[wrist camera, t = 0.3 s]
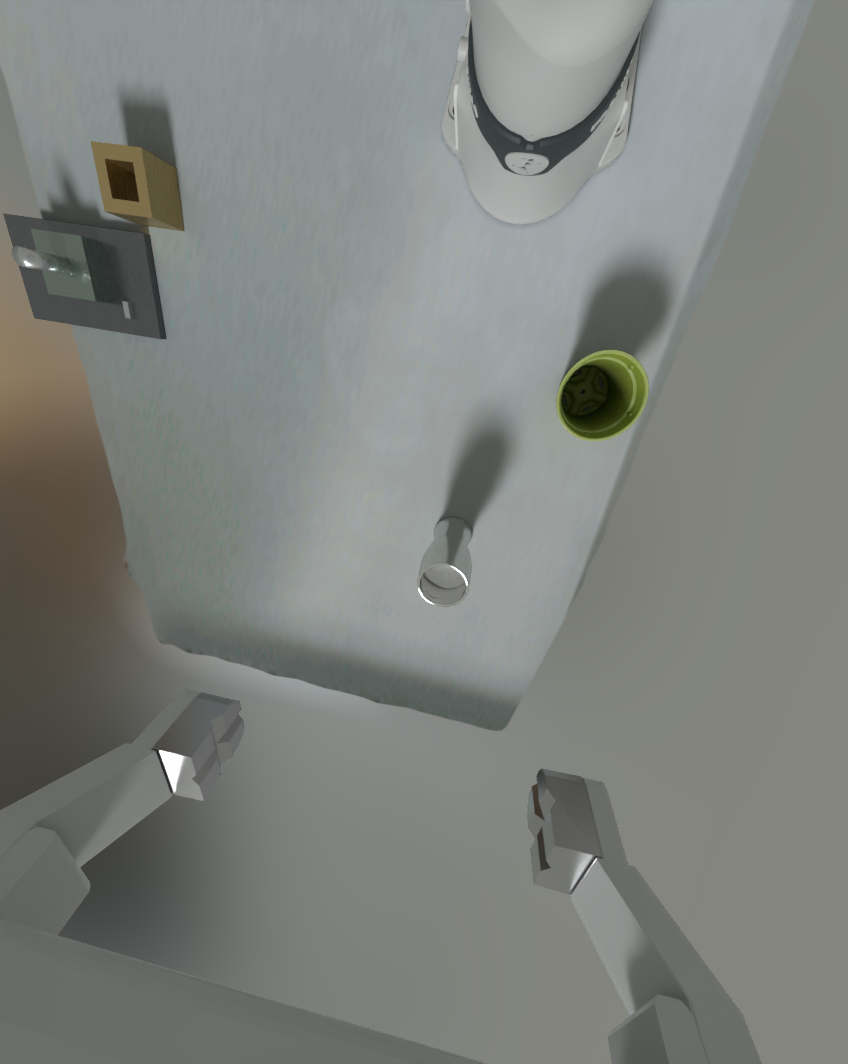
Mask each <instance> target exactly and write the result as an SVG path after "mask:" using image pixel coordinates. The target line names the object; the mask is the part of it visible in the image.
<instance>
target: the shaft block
mask: <svg viewBox="0 0 848 1064" xmlns="http://www.w3.org/2000/svg"><path fill="white" fill-rule="evenodd" d="M4 217H5V221H6V224H7V228H8V231H9V235H10V238H11V241H12V245H13V248H12V256H13V258H14V260H15V261H16V262H17V264H18V265H19V268H20V271H21V274H22V278H23V281H24V285H25V288H26V291H27V295H28V298H29V302H30V305H31V308H32V312H33V315H34V318H37V319H43V320H49V321H55V322H61V323H67V324H73V325H79V326H85V327H91V328H97V329H103V330H109V331H115V332H121V333H127V334H134V335H140V336H146V337H152V338H158V339H166V335H165V329H164V322H163V316H162V310H161V304H160V298H159V291H158V285H157V279H156V273H155V266H154V260H153V254H152V248H151V241H150V236H149V235H146V234H143V233H136V232H129V231H122V230H115V229H108V228H101V227H94V226H87V225H80V224H73V223H66V222H59V221H51V220H44V219H37V218H30V217H23V216H16V215H9V214H4Z"/></svg>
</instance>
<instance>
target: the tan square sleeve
mask: <svg viewBox="0 0 848 1064" xmlns="http://www.w3.org/2000/svg"><path fill="white" fill-rule="evenodd" d="M91 145H92V150H93V155H94V160H95V165H96V170H97V175H98V180H99V185H100V190H101V195H102V200H103V205H104V210H105V212H108V213H110V214H113V215H116V216H118V217H121V218H123V219H126V220H129V221H131V222H134V223H137V224H139V225H144V226H151V227H158V228H165V229H172V230H179V231H184V226H183V218H182V210H181V202H180V194H179V186H178V178H177V170H176V168H174V167H173V166H171V165H169V164H168V163H166V162H164V161H163V160H161V159H160V158H158V157H156V156H155V155H153V154H151V153H150V152H148V151H146V150H145V149H143V148H141V147H133V146H125V145H117V144H109V143H101V142H92V141H91Z"/></svg>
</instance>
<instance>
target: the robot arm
mask: <svg viewBox="0 0 848 1064" xmlns="http://www.w3.org/2000/svg"><path fill="white" fill-rule="evenodd" d="M653 1H654V0H466V13H467V14H468V15H469V18H468V22H467V26H466V30H465V34H464V36H462V37H461V39H460V43H459V48H458V56H457V60H458V61H457V64H456V68H455V72H454V76H453V80H452V84H451V88H450V91H449V95H448V99H447V103H446V107H445V111H444V115H443V119H442V136H443V139H444V141H445V143H446V144H447V146H448V147H449V148H450V150H451V151H452V152H453V153H454V154H455V155H456V156H457V157H458V159H459V160H460V162H461V165H462V167H463V170H464V173H465V176H466V179H467V182H468V185H469V187H470V189H471V191H472V193H473V195H474V197H475V198H476V200H477V201H478V202H479V204H480V205H481V206H482V207H483V208H484V209H485V210H486V211H487V212H488V213H490V214H491V215H492V216H494V217H496V218H497V219H499V220H502V221H504V222H508V223H513V224H529V223H534V222H538V221H540V220H543V219H545V218H548V217H549V216H551V215H553V214H555V213H556V212H558V211H559V210H560V209H562V208H563V207H564V206H565V205H566V204H568V203H569V202H570V201H571V200H572V199H573V197H574V196H575V195H576V194H577V193H578V192H579V190H580V189H581V188H582V187H583V186H584V184H585V183H586V182H587V181H588V180H589V179H590V178H591V177H592V176H593V175H594V174H596V173H597V172H599V171H601V170H602V169H604V168H606V167H607V166H609V165H610V164H612V163H613V162H614V161H615V160H616V159H618V157H619V156H620V155H621V153H622V151H623V149H624V147H625V144H626V140H627V133H628V126H629V118H630V111H631V104H632V96H633V89H634V81H635V74H636V67H637V59H638V52H639V44H640V37H641V30H642V25H643V23H644V21H645V19H646V17H647V14H648V12H649V10H650V8H651V6H652V4H653ZM453 112H454V114H453ZM617 130H618V132H617ZM240 711H241V705H240V701H237V700H233V699H229V698H224V697H219V696H215V695H210V694H207V693H204V692H199V691H195V690H189V689H184V690H183V691H181V692H179V693H178V694H177V695H176V696H175V697H174V698H173V699H172V701H170V703H169V704H168V705H167V706H166V707H165V708H164V709H163V710H162V711H161V712H160V713H159V715H158V716H157V717H156V718H155V719H154V720H153V721H152V722H151V723H150V724H149V725H148V727H147V728H146V729H145V730H144V731H143V732H142V733H141V734H140V735H139V736H138V738H137V739H136V740H135V741H134V742H133V743H132V744H124V745H122V746H120V747H118V748H116V749H114V750H113V751H111V752H109V753H107V754H105V755H103V756H101V757H100V758H98V759H96V760H94V761H92V762H90V763H88V764H86V765H85V766H83V767H81V768H79V769H77V770H75V771H73V772H71V773H70V774H68V775H66V776H64V777H62V778H60V779H58V780H57V781H55V782H53V783H51V784H49V785H47V786H45V787H43V788H42V789H40V790H38V791H36V792H34V793H32V794H30V795H29V796H27V797H25V798H23V799H21V800H19V801H17V802H16V803H14V804H12V805H10V806H8V807H6V808H4V809H3V810H1V811H0V1064H487V1063H484V1062H480V1061H477V1060H473V1059H470V1058H467V1057H464V1056H460V1055H457V1054H453V1053H450V1052H447V1051H443V1050H440V1049H437V1048H433V1047H430V1046H426V1045H423V1044H420V1043H416V1042H413V1041H410V1040H406V1039H403V1038H399V1037H396V1036H393V1035H390V1034H386V1033H383V1032H380V1031H376V1030H373V1029H370V1028H366V1027H363V1026H359V1025H356V1024H353V1023H349V1022H345V1021H343V1020H339V1019H336V1018H332V1017H329V1016H326V1015H322V1014H319V1013H316V1012H312V1011H309V1010H306V1009H302V1008H299V1007H296V1006H292V1005H289V1004H286V1003H282V1002H279V1001H276V1000H272V999H268V998H265V997H262V996H258V995H255V994H252V993H249V992H245V991H242V990H239V989H235V988H232V987H229V986H225V985H222V984H218V983H215V982H212V981H208V980H205V979H202V978H198V977H195V976H192V975H188V974H185V973H181V972H178V971H175V970H172V969H168V968H165V967H161V966H158V965H154V964H151V963H148V962H144V961H141V960H138V959H134V958H131V957H128V956H125V955H121V954H118V953H114V952H111V951H107V950H104V949H101V948H98V947H94V946H91V945H88V944H84V943H81V942H77V941H74V940H71V939H67V938H64V937H60V936H57V935H58V933H59V932H60V931H61V929H62V928H63V927H64V925H65V924H66V922H67V921H68V920H69V918H70V917H71V916H72V914H73V913H74V911H75V910H76V909H77V907H78V906H79V905H80V903H81V902H82V900H83V899H84V898H85V896H86V895H87V894H88V892H89V889H90V882H89V881H88V879H87V878H86V876H85V875H84V873H83V872H82V870H81V869H80V867H81V866H82V865H83V864H85V863H86V862H87V861H89V860H90V859H91V858H92V857H94V856H95V855H96V854H98V853H99V852H100V851H102V850H103V849H104V848H105V847H107V846H108V845H109V844H111V843H112V842H113V841H114V840H116V839H117V838H118V837H120V836H121V835H122V834H124V833H125V832H126V831H128V830H129V829H130V828H131V827H133V826H134V825H135V824H137V823H138V822H139V821H141V820H142V819H143V818H144V817H146V816H147V815H148V814H150V813H151V812H152V811H154V810H155V809H156V808H157V807H159V806H160V805H161V804H162V803H164V802H165V801H166V800H168V799H169V798H170V797H172V794H174V795H179V796H184V797H188V798H193V799H197V800H202V801H204V799H205V798H206V796H207V795H208V793H209V792H210V790H211V789H212V787H213V785H214V784H215V782H216V781H217V779H218V778H219V776H220V775H221V764H222V763H223V762H225V761H226V760H227V759H229V758H231V757H232V755H233V754H234V752H235V751H236V749H237V747H238V746H239V743H240V740H241V738H242V735H243V731H244V721H243V719H242V718H241V717H240V716H239V715H238V714H239V712H240ZM536 777H537V784H536V785H533V786H532V787H531V790H530V793H529V798H528V827H529V829H530V831H531V832H532V834H533V836H534V838H535V841H534V843H533V845H532V847H531V849H530V851H531V862H532V872H533V883H534V884H535V885H538V886H542V887H545V888H549V889H552V890H556V891H560V892H563V893H566V894H570V895H571V896H570V898H571V900H572V902H573V904H574V906H575V908H576V910H577V912H578V914H579V916H580V918H581V920H582V922H583V924H584V926H585V928H586V930H587V932H588V934H589V936H590V938H591V940H592V941H593V944H594V945H595V948H596V949H597V951H598V953H599V956H600V958H601V959H602V961H603V963H604V965H605V967H606V969H607V971H608V973H609V975H610V977H611V979H612V981H613V983H614V985H615V987H616V989H617V991H618V993H619V995H620V997H621V999H622V1001H623V1003H624V1005H625V1007H626V1009H627V1011H628V1013H629V1015H630V1017H628V1018H627V1019H626V1020H625V1021H623V1022H622V1023H621V1024H619V1025H618V1026H617V1027H616V1028H614V1029H613V1030H612V1032H611V1033H610V1035H609V1036H608V1041H609V1047H610V1053H611V1059H612V1064H762V1063H761V1061H760V1058H759V1055H758V1053H757V1050H756V1048H755V1045H754V1043H753V1040H752V1037H751V1035H750V1032H749V1030H748V1027H747V1025H746V1022H745V1019H744V1017H743V1014H742V1013H741V1012H740V1010H739V1009H738V1008H737V1006H736V1005H735V1004H734V1002H733V1001H732V999H731V998H730V997H729V995H728V994H727V993H726V991H725V990H724V988H723V987H722V986H721V984H720V983H719V982H718V980H717V979H716V977H715V976H714V975H713V973H712V972H711V971H710V969H709V968H708V966H707V965H706V964H705V962H704V961H703V960H702V958H701V957H700V955H699V954H698V953H697V951H696V950H695V949H694V947H693V946H692V944H691V943H690V942H689V940H688V939H687V938H686V936H685V935H684V933H683V932H682V931H681V929H680V928H679V927H678V925H677V924H676V923H675V921H674V920H673V918H672V917H671V916H670V914H669V913H668V912H667V910H666V909H665V908H664V906H663V905H662V903H661V902H660V901H659V899H658V898H657V896H656V895H655V894H654V892H653V891H652V890H651V888H650V887H649V885H648V884H647V883H646V881H645V880H644V879H643V877H642V876H641V874H640V873H639V872H638V871H637V869H636V868H635V867H634V866H630V865H628V862H627V859H626V855H625V852H624V848H623V844H622V841H621V837H620V834H619V831H618V827H617V823H616V820H615V816H614V812H613V809H612V805H611V802H610V798H609V795H608V791H607V788H606V787H605V785H604V783H602V782H601V781H596V780H592V779H588V778H583V777H580V776H576V775H571V774H566V773H561V772H556V771H551V770H546V769H540V770H539V771H538V773H537V776H536Z"/></svg>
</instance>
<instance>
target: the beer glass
mask: <svg viewBox="0 0 848 1064" xmlns="http://www.w3.org/2000/svg"><path fill="white" fill-rule="evenodd" d="M470 540H471V530H470V528H469V526H468V524H467V523H466V522H464V521H463V520H461V519H459V518H455V517H449V518H445V519H443V520H441V521H440V522H439V523H438V524H437V525H436V527H435V529H434V540H433V542H432V543H431V544H430V546H429V547H428V548H427V550H426V552H425V554H424V556H423V559H422V561H421V565H420V570H419V576H418V580H417V587H418V590H419V592H420V594H421V596H422V597H423V598H424V599H425V600H426V601H428V602H429V603H431V604H433V605H436V606H440V607H450V606H454V605H456V604H458V603H460V602H461V601H463V600H464V598H465V597H466V596H467V593H468V590H469V584H470V580H471V573H472V561H471V556H470V552H469V548H468V545H469V543H470Z"/></svg>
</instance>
